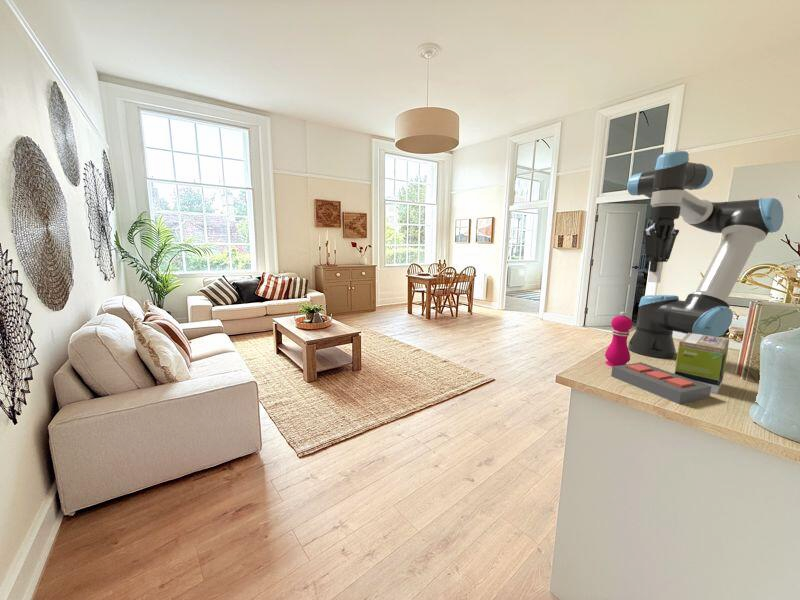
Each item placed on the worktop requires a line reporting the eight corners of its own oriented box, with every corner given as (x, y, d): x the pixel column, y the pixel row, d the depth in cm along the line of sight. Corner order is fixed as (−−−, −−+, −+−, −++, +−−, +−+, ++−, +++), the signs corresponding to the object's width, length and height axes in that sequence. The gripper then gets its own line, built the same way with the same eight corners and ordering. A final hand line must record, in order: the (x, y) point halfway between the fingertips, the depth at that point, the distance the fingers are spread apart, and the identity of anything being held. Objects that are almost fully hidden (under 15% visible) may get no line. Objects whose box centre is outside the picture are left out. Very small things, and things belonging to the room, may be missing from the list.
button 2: (656, 382, 99) (657, 370, 98) (669, 387, 96) (671, 375, 95) (644, 384, 97) (645, 372, 97) (657, 389, 94) (659, 377, 93)
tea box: (680, 374, 109) (688, 331, 107) (722, 384, 102) (731, 338, 99) (671, 386, 99) (679, 339, 97) (716, 398, 92) (726, 348, 89)
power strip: (619, 368, 114) (621, 355, 113) (708, 401, 90) (711, 386, 89) (592, 372, 109) (594, 359, 109) (678, 408, 86) (680, 392, 85)
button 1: (637, 375, 104) (639, 364, 104) (650, 379, 101) (652, 368, 100) (626, 377, 102) (627, 365, 102) (638, 381, 99) (640, 370, 98)
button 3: (676, 389, 94) (678, 377, 93) (691, 395, 90) (694, 382, 90) (664, 392, 92) (666, 379, 92) (679, 398, 89) (681, 385, 88)
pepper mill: (632, 373, 109) (640, 314, 106) (608, 371, 111) (616, 313, 108) (622, 365, 116) (630, 310, 113) (600, 363, 118) (607, 308, 114)
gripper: (666, 208, 107) (655, 280, 111) (638, 206, 103) (627, 281, 107) (692, 206, 100) (680, 283, 104) (664, 203, 96) (652, 284, 100)
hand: (653, 282), depth 106 cm, fingers closed
